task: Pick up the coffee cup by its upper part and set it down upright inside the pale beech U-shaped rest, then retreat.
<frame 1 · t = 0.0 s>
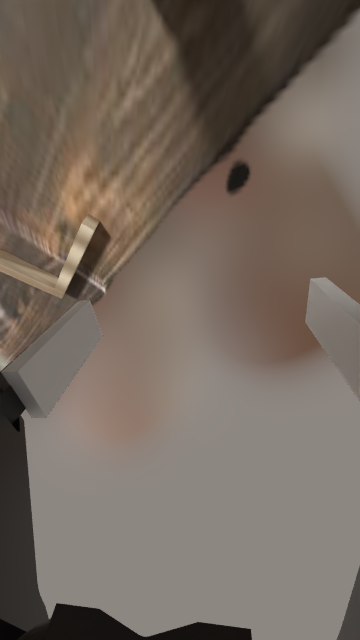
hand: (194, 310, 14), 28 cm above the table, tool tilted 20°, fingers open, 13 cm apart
u rest: (22, 227, 41), on the table
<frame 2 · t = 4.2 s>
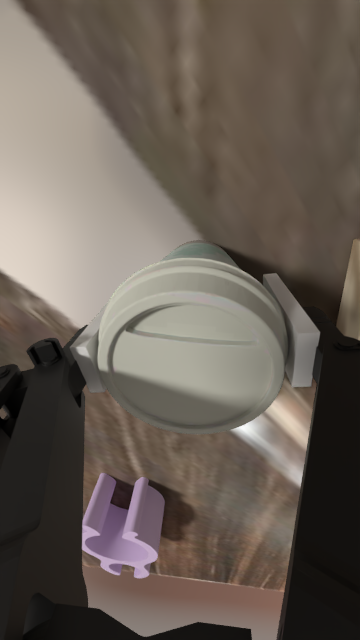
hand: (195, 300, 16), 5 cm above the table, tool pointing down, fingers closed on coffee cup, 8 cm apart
coffee cup: (198, 274, 20), on the table, touching gripper
clip: (131, 502, 43), on the table
when the fingers open (5 cm above the table, at t = 10.9 s): coffee cup stays where it is, on the table.
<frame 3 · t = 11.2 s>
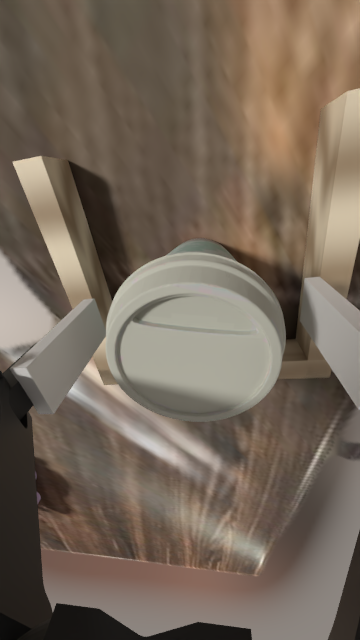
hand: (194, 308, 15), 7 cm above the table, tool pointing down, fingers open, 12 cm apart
coffee cup: (199, 272, 21), on the table
u rest: (198, 273, 20), on the table
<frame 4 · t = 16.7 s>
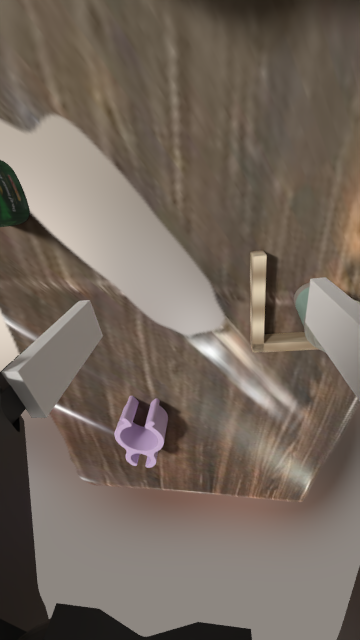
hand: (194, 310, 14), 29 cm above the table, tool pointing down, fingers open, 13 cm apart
coffee cup: (310, 296, 43), on the table
u rest: (310, 297, 43), on the table
coffee jar: (6, 193, 40), on the table
clip: (146, 421, 66), on the table
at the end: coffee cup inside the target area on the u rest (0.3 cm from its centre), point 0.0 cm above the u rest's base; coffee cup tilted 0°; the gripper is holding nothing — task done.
